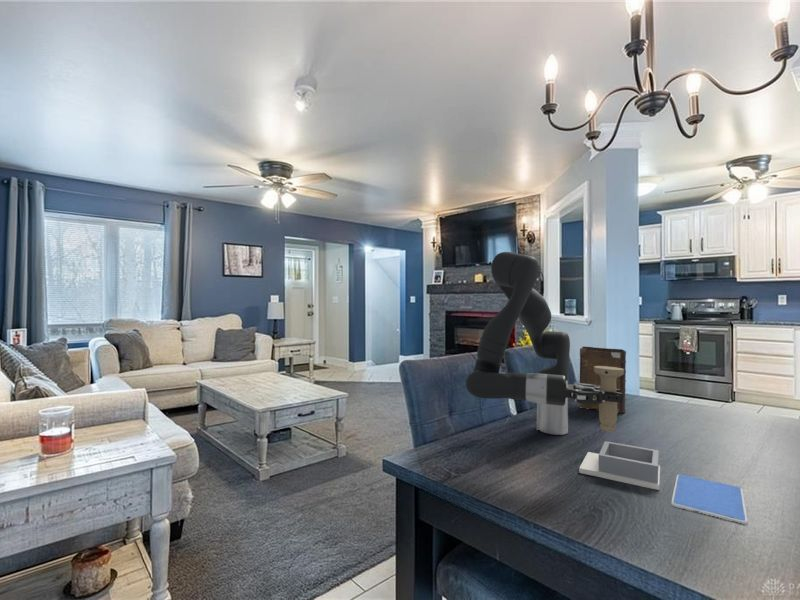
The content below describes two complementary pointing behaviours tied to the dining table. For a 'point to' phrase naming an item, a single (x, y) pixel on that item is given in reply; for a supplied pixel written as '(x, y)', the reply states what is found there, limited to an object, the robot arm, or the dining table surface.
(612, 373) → the handle
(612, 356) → the book
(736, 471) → the dining table surface
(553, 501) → the dining table surface
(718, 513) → the tablet computer
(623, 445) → the open box
